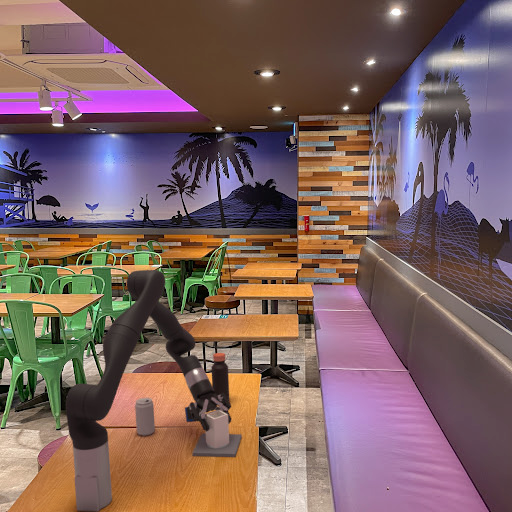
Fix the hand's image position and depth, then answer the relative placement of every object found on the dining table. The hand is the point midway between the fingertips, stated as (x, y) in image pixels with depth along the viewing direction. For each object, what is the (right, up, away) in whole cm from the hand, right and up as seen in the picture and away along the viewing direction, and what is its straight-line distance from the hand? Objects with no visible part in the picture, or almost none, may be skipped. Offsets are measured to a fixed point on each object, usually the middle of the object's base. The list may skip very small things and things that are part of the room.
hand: (219, 426), depth 171 cm
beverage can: (-27, -7, +14) cm, 31 cm away
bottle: (-2, -3, +40) cm, 40 cm away
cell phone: (-11, -5, +29) cm, 32 cm away
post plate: (0, -7, +2) cm, 7 cm away
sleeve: (-1, -6, +2) cm, 6 cm away
